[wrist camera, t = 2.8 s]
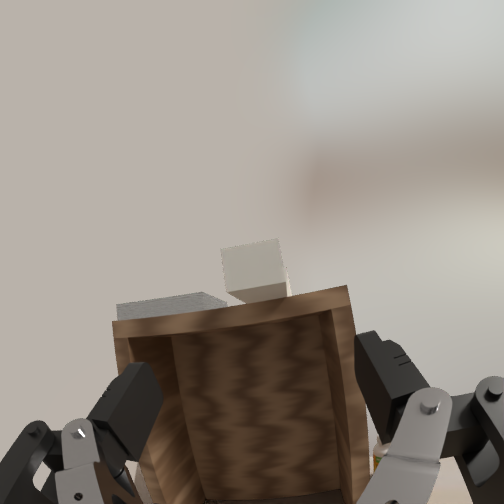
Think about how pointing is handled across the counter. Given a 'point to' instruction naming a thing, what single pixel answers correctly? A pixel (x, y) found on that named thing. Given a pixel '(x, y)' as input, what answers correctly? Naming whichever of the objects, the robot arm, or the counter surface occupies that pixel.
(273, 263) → the plug
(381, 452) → the supplement bottle
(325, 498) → the counter surface
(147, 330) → the walnut shelf
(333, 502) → the counter surface
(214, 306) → the socket block
